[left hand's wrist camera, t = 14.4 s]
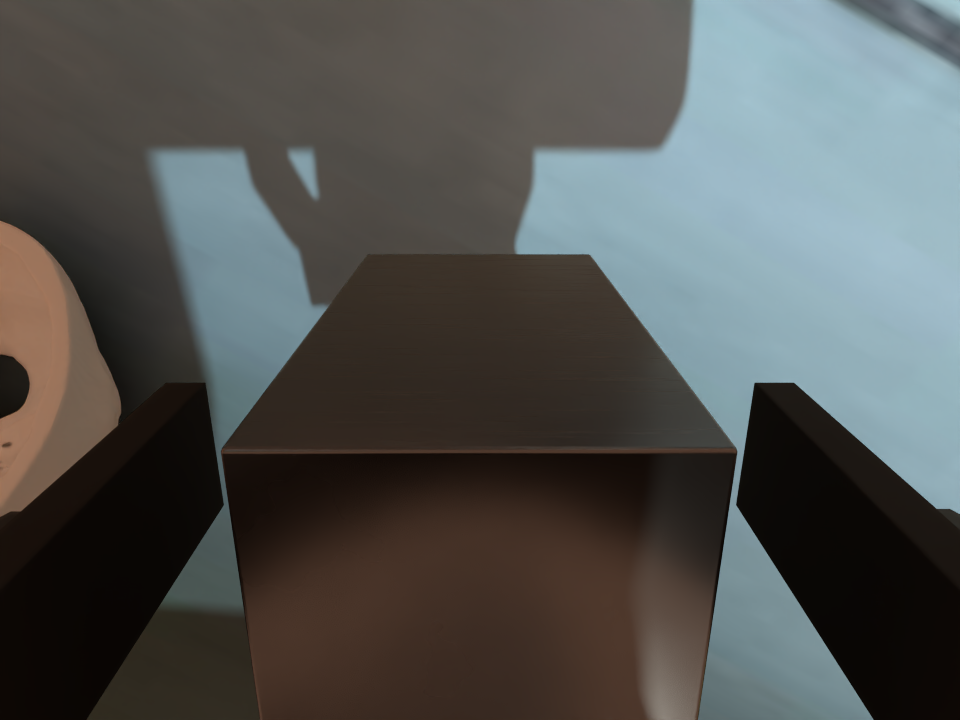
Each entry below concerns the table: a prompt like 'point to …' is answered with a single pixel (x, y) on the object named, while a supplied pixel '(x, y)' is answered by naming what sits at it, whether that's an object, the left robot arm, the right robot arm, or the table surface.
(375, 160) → the table surface
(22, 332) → the skull bowl
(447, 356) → the bar
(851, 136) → the table surface
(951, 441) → the table surface
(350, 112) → the table surface
